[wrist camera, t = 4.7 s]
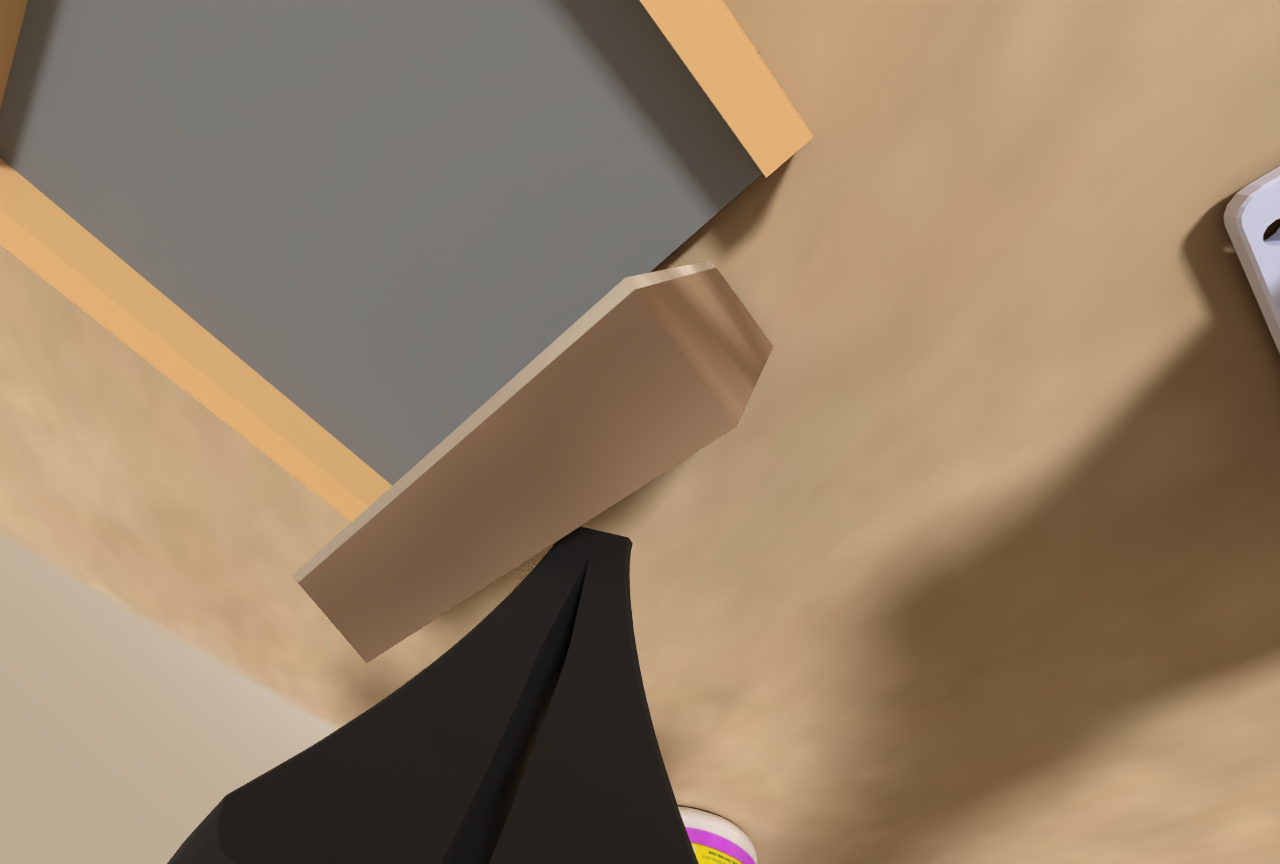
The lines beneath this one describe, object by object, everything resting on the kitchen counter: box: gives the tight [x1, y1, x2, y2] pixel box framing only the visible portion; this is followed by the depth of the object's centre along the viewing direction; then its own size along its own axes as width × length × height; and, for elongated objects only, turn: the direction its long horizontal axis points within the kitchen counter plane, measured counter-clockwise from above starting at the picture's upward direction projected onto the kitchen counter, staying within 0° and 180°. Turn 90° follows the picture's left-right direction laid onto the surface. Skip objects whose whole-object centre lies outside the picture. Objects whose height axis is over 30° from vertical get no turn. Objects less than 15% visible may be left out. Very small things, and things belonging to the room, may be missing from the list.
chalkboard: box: [0, 0, 813, 522], centre depth 12 cm, size 14×16×2 cm
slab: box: [292, 261, 773, 663], centre depth 12 cm, size 2×10×6 cm, turn 131°
